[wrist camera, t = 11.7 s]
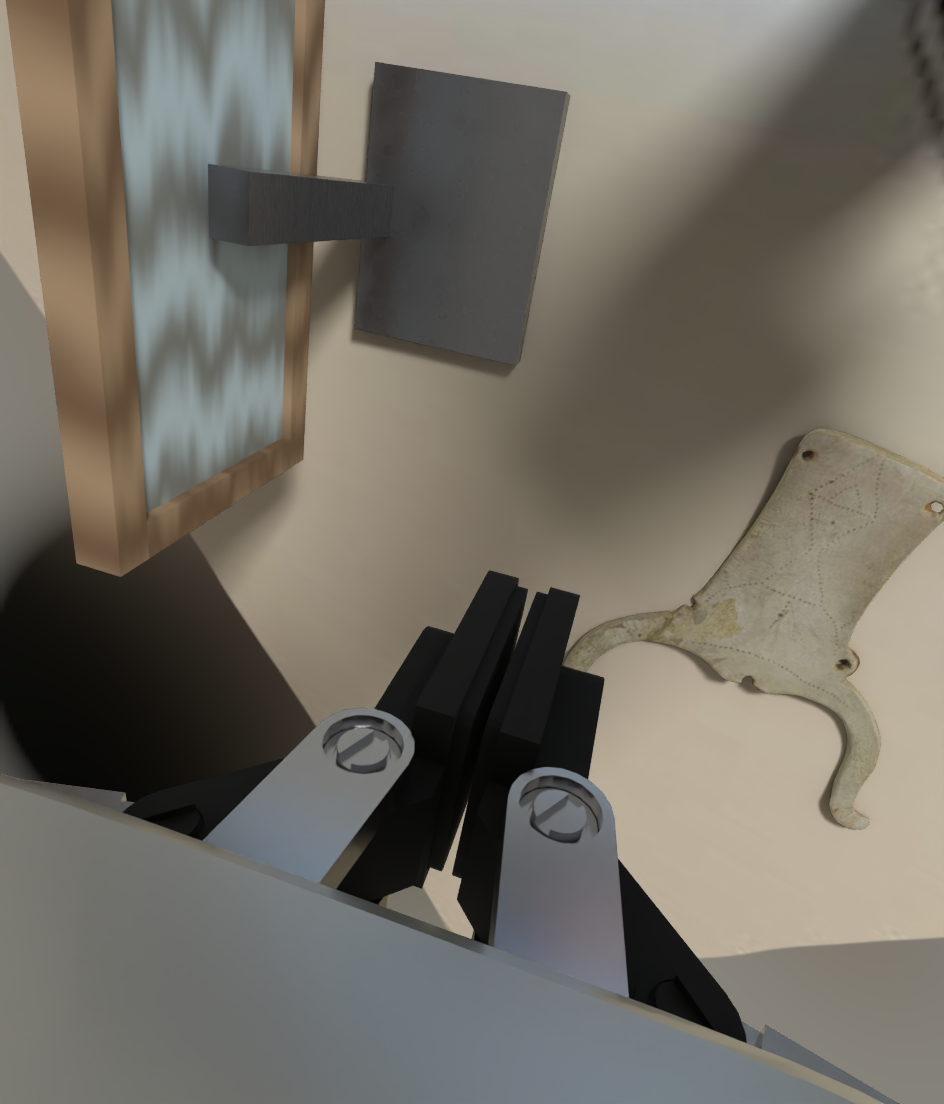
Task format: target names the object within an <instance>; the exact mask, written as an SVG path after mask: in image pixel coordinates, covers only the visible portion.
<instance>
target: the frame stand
mask: <svg viewBox="0 0 944 1104" xmlns="http://www.w3.org/2000/svg"><path fill="white" fill-rule="evenodd" d="M569 100H570V95H569V94H568V93H567V92H564V91H558V90H551V89H545V88H538V87H532V86H526V85H519V84H513V83H506V82H500V81H494V80H487V79H481V78H474V77H468V76H462V75H455V74H449V73H443V72H436V71H430V70H423V69H417V68H411V67H404V66H398V65H391V64H385V63H379V62H375V72H374V85H373V98H372V111H371V124H370V137H369V150H368V163H367V176H366V181H361V180H352V179H343V178H334V177H325V176H316V175H307V174H297V173H288V172H279V171H270V170H261V169H252V168H243V167H234V166H225V165H216V164H208V203H209V238H211V239H216V240H221V241H226V242H231V243H235V244H240V245H245V246H260V245H274V244H288V243H302V242H317V241H331V240H345V239H359V238H362V241H361V254H360V267H359V280H358V293H357V306H356V319H355V329H357V330H361V331H365V332H370V333H374V334H379V335H383V336H388V337H392V338H397V339H401V340H406V341H410V342H414V343H419V344H423V345H428V346H432V347H437V348H441V349H446V350H450V351H455V352H459V353H463V354H468V355H472V356H477V357H481V358H486V359H490V360H495V361H499V362H504V363H508V364H512V365H516V364H517V363H518V362H519V361H520V357H521V352H522V347H523V342H524V336H525V331H526V326H527V321H528V315H529V310H530V305H531V300H532V294H533V289H534V284H535V279H536V273H537V268H538V263H539V258H540V252H541V247H542V242H543V237H544V231H545V226H546V221H547V215H548V210H549V205H550V200H551V194H552V189H553V184H554V179H555V173H556V168H557V163H558V158H559V152H560V147H561V142H562V137H563V131H564V126H565V121H566V116H567V110H568V105H569Z"/></svg>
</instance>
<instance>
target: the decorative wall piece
mask: <svg viewBox="0 0 944 1104" xmlns="http://www.w3.org/2000/svg"><path fill="white" fill-rule="evenodd" d="M805 451H811V452H812V453H811V454H810V455H809V456H807V457H803V456H801V455H802V453H803V452H805ZM934 502H938V503H940V504H942V506H943V508H944V478H943V477H941V476H939V475H938V474H936V473H934V472H932V471H931V470H929V469H927V468H925V467H923V466H921V465H919V464H917V463H914V462H912V461H910V460H908V459H906V458H904V457H901V456H899V455H897V454H894V453H892V452H890V451H887V450H885V449H883V448H880V447H878V446H876V445H874V444H871V443H869V442H867V441H864V440H861V439H859V438H856V437H854V436H851V435H848V434H845V433H842V432H839V431H835V430H831V429H824V428H819V429H815V430H813V431H811V432H809V433H808V434H807V435H806V436H805V437H804V438H803V439H802V440H801V442H800V444H799V446H798V448H797V450H796V451H795V453H794V454H793V456H792V459H791V461H790V463H789V465H788V467H787V469H786V471H785V473H784V475H783V476H782V478H781V480H780V482H779V484H778V486H777V487H776V489H775V491H774V492H773V494H772V496H771V497H770V499H769V500H768V502H767V504H766V505H765V507H764V508H763V510H762V511H761V513H760V514H759V516H758V518H757V519H756V521H755V522H754V524H753V525H752V527H751V528H750V529H749V531H748V532H747V533H746V535H745V536H744V537H743V539H742V540H741V541H740V543H739V544H738V545H737V547H736V548H735V549H734V551H733V552H732V553H731V555H730V556H729V558H728V559H727V560H726V561H725V562H724V563H723V565H722V566H721V568H720V569H719V570H718V572H717V573H716V574H715V575H714V576H713V577H712V579H711V580H710V581H709V583H708V584H707V585H706V586H705V587H704V588H703V589H702V590H701V591H699V592H698V593H696V594H695V595H694V596H693V597H692V598H693V599H694V600H695V604H694V605H693V606H691V607H689V606H687V605H683V606H681V607H680V608H678V609H677V610H676V611H673V612H670V611H661V612H654V613H641V614H636V615H631V616H626V617H623V618H619V619H615V620H612V621H608V622H606V623H604V624H602V625H599V626H598V627H596V628H594V629H593V630H591V631H589V632H588V633H586V634H585V635H584V636H583V637H582V638H581V639H580V640H579V642H578V643H577V644H576V645H575V646H574V648H573V649H572V650H571V651H570V653H569V654H568V656H567V657H566V659H565V661H564V663H563V665H562V666H566V667H569V668H573V669H576V670H579V671H583V672H586V671H587V670H588V668H589V667H590V666H591V665H592V664H593V662H594V661H595V660H596V659H597V658H598V657H599V656H601V655H602V654H604V653H605V652H607V651H609V650H610V649H612V648H614V647H616V646H618V645H621V644H624V643H628V642H632V641H643V640H646V641H652V642H659V643H664V644H669V645H673V646H676V647H678V648H681V649H684V650H687V651H689V652H691V653H693V654H695V655H697V656H698V657H700V658H702V659H703V660H704V661H705V662H707V663H708V664H709V665H710V666H711V667H712V668H713V669H714V670H715V671H716V672H717V673H718V674H719V675H720V676H721V678H723V679H725V680H728V681H732V682H735V683H741V682H742V679H743V678H744V677H745V676H751V677H752V683H753V685H754V686H755V687H757V688H758V689H760V690H761V691H763V692H765V693H767V694H791V695H797V696H801V697H804V698H807V699H810V700H812V701H815V702H817V703H820V704H822V705H823V706H825V707H827V708H829V709H830V710H832V711H833V712H834V713H836V714H837V715H838V716H839V717H840V718H841V720H842V722H843V724H844V726H845V729H846V733H847V747H846V752H845V756H844V759H843V761H842V763H841V765H840V768H839V770H838V772H837V775H836V777H835V780H834V783H833V788H832V791H831V797H830V804H829V807H830V811H831V814H832V815H833V817H834V818H835V820H836V821H837V822H838V823H839V824H841V825H843V826H845V827H846V828H848V829H852V830H862V829H865V828H866V827H867V826H868V825H869V823H870V821H869V819H868V818H867V817H864V816H863V815H861V814H859V813H858V812H856V811H855V810H854V809H853V803H854V800H855V798H856V796H857V794H858V792H859V790H860V788H861V787H862V785H863V784H864V782H865V781H866V780H867V778H868V777H869V775H870V774H871V773H872V771H873V770H874V768H875V766H876V763H877V759H878V756H879V752H880V748H881V736H880V733H879V730H878V727H877V723H876V720H875V718H874V716H873V714H872V712H871V710H870V708H869V706H868V704H867V702H866V701H865V699H864V698H863V697H862V695H861V694H860V693H859V691H858V690H857V689H856V688H855V687H854V686H853V685H852V684H851V683H850V682H848V681H847V680H846V677H848V676H850V675H851V674H853V673H854V672H855V671H856V669H857V668H858V666H859V664H860V661H859V658H858V656H857V655H856V653H855V652H854V651H853V650H852V649H850V648H849V647H848V643H849V641H850V638H851V635H852V633H853V630H854V628H855V626H856V624H857V622H858V621H859V619H860V618H861V616H862V615H863V613H864V611H865V610H866V608H867V607H868V605H869V604H870V602H871V601H872V600H873V598H874V597H875V596H876V595H877V593H878V592H879V591H880V589H881V588H882V587H883V586H884V584H885V583H886V582H887V581H888V579H889V578H890V577H891V575H892V574H893V573H894V572H895V570H896V569H897V568H898V567H899V566H900V565H901V563H902V562H903V561H904V560H905V559H906V558H907V557H908V556H909V555H910V553H911V552H912V551H913V550H914V549H915V548H916V547H917V546H918V545H919V544H920V543H921V542H922V541H923V540H924V539H925V538H926V537H927V536H928V535H929V534H930V533H931V532H932V531H933V530H934V529H935V528H936V527H937V526H939V525H940V524H941V523H942V522H943V521H944V509H943V510H942V511H941V512H938V513H937V512H934V511H933V510H931V504H932V503H934ZM841 659H846V660H847V661H846V663H844V664H836V663H837V661H839V660H841Z"/></svg>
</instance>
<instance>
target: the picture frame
mask: <svg viewBox="0 0 944 1104" xmlns="http://www.w3.org/2000/svg"><path fill="white" fill-rule="evenodd" d="M6 6H7V14H8V22H9V30H10V38H11V46H12V54H13V62H14V70H15V78H16V86H17V93H18V101H19V109H20V117H21V125H22V133H23V141H24V149H25V157H26V165H27V173H28V181H29V189H30V197H31V205H32V213H33V221H34V228H35V236H36V244H37V252H38V260H39V268H40V276H41V284H42V292H43V300H44V308H45V316H46V324H47V331H48V340H49V347H50V356H51V363H52V371H53V379H54V387H55V395H56V403H57V411H58V418H59V427H60V435H61V443H62V451H63V459H64V467H65V475H66V483H67V490H68V498H69V506H70V514H71V522H72V530H73V538H74V546H75V554H76V562H77V564H81V565H84V566H87V567H91V568H94V569H97V570H100V571H104V572H107V573H110V574H114V575H117V576H120V577H121V576H123V575H124V574H126V573H127V572H129V571H130V570H132V569H133V568H135V567H137V566H138V565H140V564H141V563H143V562H144V561H146V560H148V559H149V558H151V557H152V556H154V555H155V554H157V553H159V552H160V551H161V550H163V549H165V548H166V547H168V546H169V545H171V544H172V543H174V542H176V541H177V540H179V539H180V538H182V537H183V536H185V535H186V534H188V533H190V532H191V531H193V530H194V529H196V528H197V527H199V526H200V525H202V524H204V523H205V522H207V521H208V520H210V519H211V518H213V517H214V516H216V515H218V514H219V513H221V512H222V511H224V510H225V509H227V508H228V507H230V506H232V505H233V504H235V503H236V502H238V501H239V500H241V499H242V498H244V497H246V496H247V495H249V494H250V493H252V492H253V491H255V490H256V489H258V488H260V487H261V486H263V485H264V484H266V483H267V482H269V481H270V480H272V479H273V478H275V477H277V476H278V475H280V474H281V473H283V472H284V471H286V470H287V469H289V468H291V467H292V466H294V465H295V464H297V463H298V462H300V461H301V460H303V453H304V432H305V411H306V390H307V368H308V347H309V326H310V305H311V284H312V262H313V242H302V243H288V244H274V245H260V246H245V245H240V244H235V243H231V242H226V241H221V240H216V239H211V238H209V203H208V164H216V165H225V166H234V167H243V168H252V169H261V170H270V171H279V172H288V173H297V174H307V175H316V176H317V156H318V135H319V114H320V93H321V72H322V50H323V29H324V8H325V0H6Z"/></svg>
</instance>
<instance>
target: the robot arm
mask: <svg viewBox="0 0 944 1104" xmlns="http://www.w3.org/2000/svg"><path fill="white" fill-rule="evenodd" d="M518 581H519V578H516V577H512V576H508V575H505V574H501V573H498V572H494V571H490V570H489V571H488V573H487V575H486V577H485V578H484V580H483V582H482V584H481V586H480V588H479V589H478V591H477V593H476V595H475V597H474V599H473V600H472V602H471V604H470V606H469V608H468V610H467V612H466V613H465V615H464V617H463V619H462V621H461V623H460V624H459V626H458V628H457V630H456V632H455V634H454V633H450V632H447V631H443V630H440V629H436V628H433V627H430V626H428V627H426V628H425V629H424V630H423V632H422V633H421V635H420V636H419V638H418V640H417V641H416V643H415V644H414V646H413V648H412V649H411V651H410V652H409V654H408V656H407V657H406V659H405V660H404V662H403V664H402V665H401V667H400V669H399V670H398V672H397V673H396V675H395V677H394V678H393V680H392V681H391V683H390V685H389V686H388V688H387V689H386V691H385V693H384V694H383V696H382V697H381V699H380V701H379V702H378V704H377V705H376V707H375V709H368V708H355V709H347V710H343V711H340V712H338V713H335V714H332V715H330V716H329V717H328V718H326V719H325V720H324V721H322V722H321V723H320V724H319V725H318V726H317V727H316V728H315V729H314V730H313V731H312V732H311V733H310V734H309V735H308V736H307V737H306V738H305V739H304V740H303V741H302V742H301V743H300V744H299V745H298V746H297V747H296V748H295V749H294V750H293V751H292V752H291V753H290V754H289V755H288V756H287V757H286V758H283V759H279V760H276V761H272V762H268V763H264V764H260V765H256V766H253V767H249V768H245V769H241V770H238V771H234V772H230V773H226V774H222V775H219V776H215V777H211V778H207V779H204V780H200V781H196V782H192V783H189V784H184V785H181V786H177V787H173V788H169V789H165V790H162V791H159V792H156V793H153V794H151V795H148V796H146V797H143V798H141V799H140V800H138V801H137V802H135V803H133V802H126V794H125V793H122V792H115V791H106V790H99V789H91V788H83V787H76V786H69V785H61V784H53V783H46V782H38V781H30V780H23V779H17V778H13V777H10V776H7V775H3V774H0V1104H899V1103H897V1102H895V1101H894V1100H892V1099H890V1098H889V1097H887V1096H885V1095H883V1094H882V1093H880V1092H878V1091H877V1090H875V1089H873V1088H872V1087H870V1086H868V1085H867V1084H865V1083H863V1082H861V1081H860V1080H858V1079H856V1078H855V1077H853V1076H851V1075H850V1074H848V1073H846V1072H845V1071H843V1070H841V1069H840V1068H838V1067H836V1066H835V1065H833V1064H831V1063H829V1062H828V1061H826V1060H824V1059H823V1058H821V1057H819V1056H818V1055H816V1054H814V1053H813V1052H811V1051H809V1050H808V1049H806V1048H804V1047H802V1046H801V1045H799V1044H797V1043H796V1042H794V1041H792V1040H791V1039H789V1038H787V1037H785V1036H784V1035H782V1034H781V1033H779V1032H777V1031H775V1030H774V1029H772V1028H770V1027H769V1026H767V1025H765V1026H764V1028H763V1029H762V1031H761V1032H759V1031H757V1030H755V1029H754V1028H752V1027H750V1026H749V1025H747V1024H745V1023H744V1022H742V1021H741V1019H740V1016H739V1013H738V1012H737V1010H736V1008H735V1007H734V1006H733V1004H732V1002H731V1001H730V999H729V998H728V996H727V994H726V993H725V992H724V990H723V989H722V988H721V987H720V985H719V984H718V983H717V982H716V980H715V979H714V978H713V977H712V975H711V974H710V973H709V972H708V970H707V969H706V968H705V967H704V965H703V964H702V963H701V962H700V960H699V959H698V958H697V957H696V955H695V954H694V953H693V952H692V950H691V949H690V948H689V947H688V945H687V944H686V943H685V942H684V940H683V939H682V938H681V937H680V935H679V934H678V933H677V932H676V930H675V929H674V928H673V927H672V925H671V924H670V923H669V922H668V920H667V919H666V918H665V917H664V915H663V914H662V913H661V912H660V910H659V909H658V908H657V907H656V905H655V904H654V903H653V902H652V900H651V899H650V898H649V897H648V895H647V894H646V893H645V892H644V890H643V889H642V888H641V887H640V885H639V884H638V883H637V882H636V880H635V879H634V878H633V877H632V875H631V874H630V873H629V872H628V870H627V869H626V868H625V867H624V865H623V864H622V863H621V862H620V860H619V859H618V855H617V843H616V831H615V819H614V815H613V811H612V807H611V805H610V803H609V801H608V800H607V798H606V797H605V795H604V794H603V792H602V791H601V790H600V789H598V788H597V787H596V786H595V785H594V784H593V783H592V782H591V781H589V780H588V776H589V770H590V764H591V758H592V752H593V746H594V740H595V734H596V728H597V722H598V716H599V710H600V704H601V698H602V692H603V686H604V678H603V677H600V676H597V675H593V674H590V673H586V672H583V671H579V670H576V669H573V668H569V667H566V666H562V662H563V658H564V654H565V650H566V647H567V643H568V639H569V635H570V632H571V628H572V624H573V620H574V617H575V613H576V609H577V605H578V602H579V598H580V595H577V594H574V593H570V592H566V591H563V590H559V589H556V588H552V587H551V588H550V590H549V593H548V595H547V594H544V593H540V592H537V593H536V595H535V598H534V600H533V603H532V605H531V608H530V611H529V613H528V616H527V618H526V621H525V624H524V626H523V629H522V631H521V634H520V637H519V639H518V642H517V644H516V640H517V636H518V632H519V627H520V623H521V619H522V615H523V610H524V606H525V602H526V597H527V592H528V589H526V588H522V587H519V586H518ZM515 645H516V647H515ZM514 649H515V650H514ZM468 799H469V800H468ZM467 802H468V804H467ZM466 805H467V809H466V813H465V818H464V823H463V827H462V832H461V836H460V841H459V845H458V850H457V854H456V859H455V863H454V868H453V873H452V875H453V876H456V877H459V878H462V880H461V884H460V888H459V893H458V897H457V900H458V902H459V904H460V906H461V907H462V909H463V911H464V913H465V915H466V916H467V918H468V920H469V922H470V924H471V925H472V927H473V929H474V931H473V935H472V938H471V939H469V938H467V937H464V936H461V935H458V934H456V933H453V932H450V931H448V930H445V929H442V928H439V927H436V926H434V925H431V924H429V923H426V922H423V921H420V920H418V919H415V918H412V917H409V916H406V915H404V914H401V913H399V912H396V911H393V910H390V909H388V908H387V907H388V905H389V902H390V899H391V894H393V893H395V892H398V891H400V890H403V889H405V888H408V887H411V886H416V887H419V888H422V887H423V884H424V881H425V879H426V876H427V874H428V871H429V869H430V867H431V868H433V869H436V870H439V871H442V870H443V868H444V865H445V862H446V860H447V857H448V854H449V851H450V849H451V846H452V843H453V840H454V838H455V835H456V832H457V829H458V827H459V824H460V821H461V819H462V816H463V813H464V810H465V808H466Z"/></svg>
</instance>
